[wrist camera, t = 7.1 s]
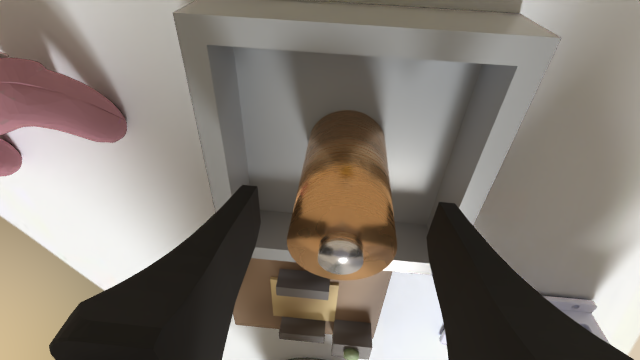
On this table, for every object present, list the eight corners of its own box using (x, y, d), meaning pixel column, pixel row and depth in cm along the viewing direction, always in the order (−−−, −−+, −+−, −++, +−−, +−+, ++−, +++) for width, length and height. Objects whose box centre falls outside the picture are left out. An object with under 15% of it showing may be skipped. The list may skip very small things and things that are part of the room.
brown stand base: (392, 252, 23) (397, 298, 21) (372, 325, 30) (374, 368, 27) (223, 237, 24) (206, 280, 21) (239, 311, 30) (227, 352, 27)
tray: (519, 13, 14) (561, 37, 11) (437, 231, 22) (449, 276, 19) (207, -6, 14) (172, 12, 11) (240, 213, 22) (224, 255, 19)
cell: (392, 115, 16) (411, 228, 10) (377, 178, 19) (385, 299, 13) (311, 105, 16) (284, 212, 10) (307, 170, 19) (283, 286, 13)
